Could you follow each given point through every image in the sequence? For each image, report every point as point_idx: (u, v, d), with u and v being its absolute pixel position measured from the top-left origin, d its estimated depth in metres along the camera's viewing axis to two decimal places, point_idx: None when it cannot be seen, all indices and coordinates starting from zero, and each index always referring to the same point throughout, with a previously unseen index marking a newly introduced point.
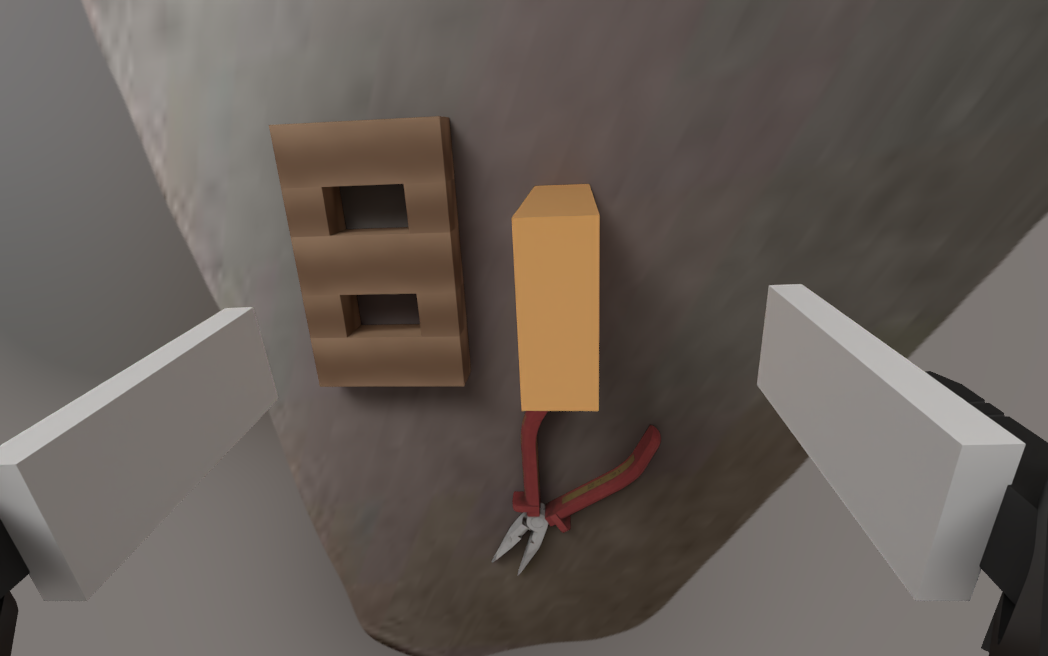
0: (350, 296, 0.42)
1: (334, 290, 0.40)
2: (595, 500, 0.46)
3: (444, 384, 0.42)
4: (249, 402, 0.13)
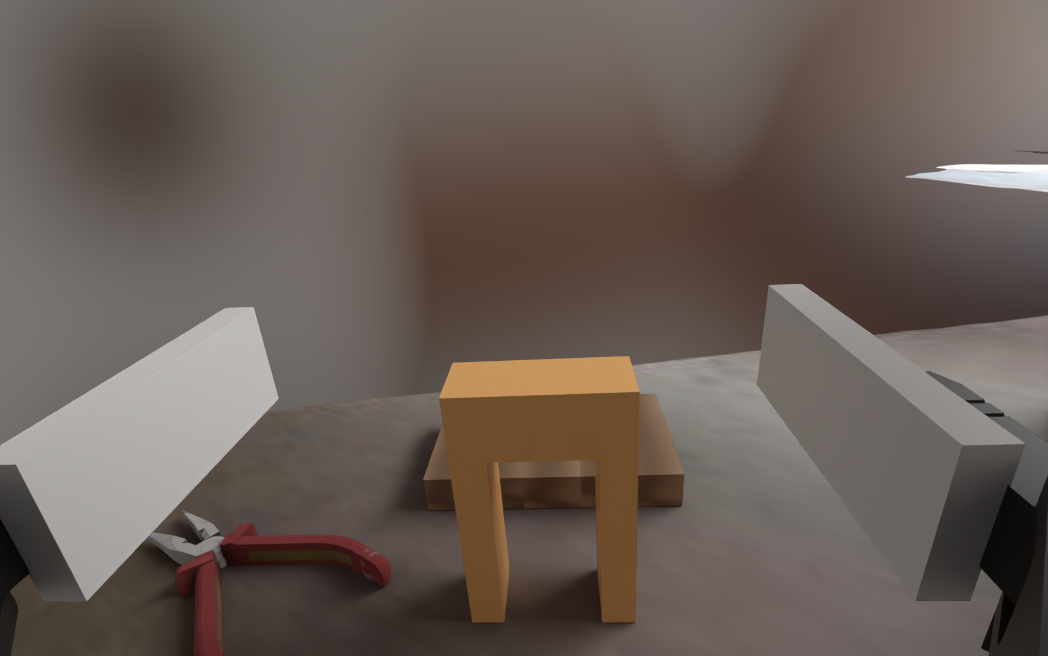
0: None
1: None
2: (200, 605, 0.33)
3: (429, 466, 0.43)
4: (249, 402, 0.13)
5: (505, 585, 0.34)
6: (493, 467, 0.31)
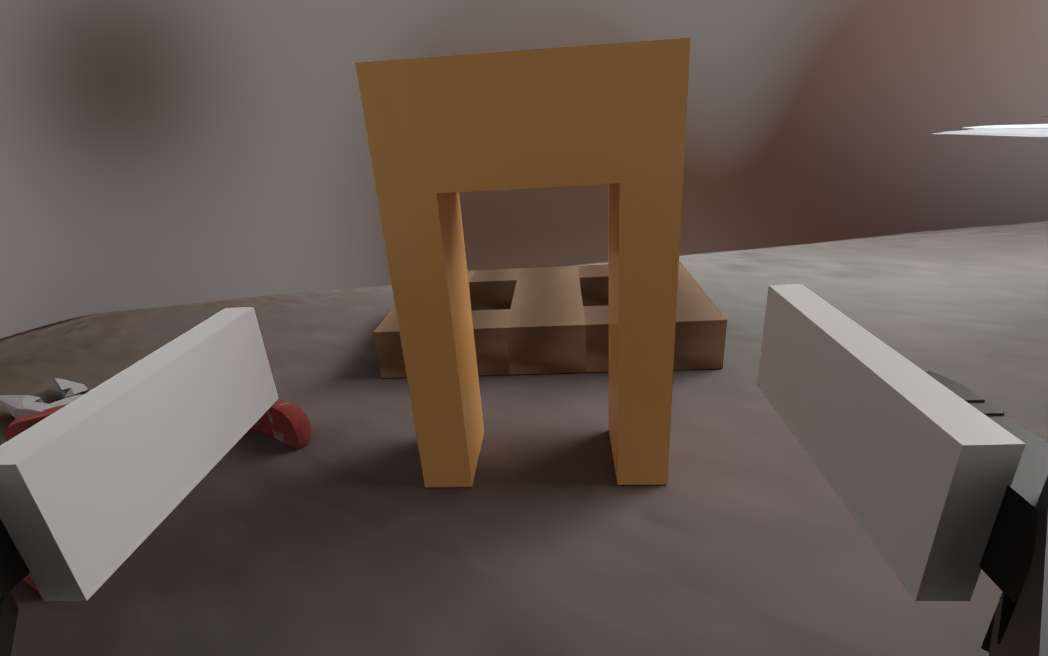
0: (509, 305, 0.39)
1: (522, 278, 0.39)
2: None
3: (384, 321, 0.32)
4: (249, 402, 0.13)
5: (476, 440, 0.23)
6: (454, 237, 0.20)
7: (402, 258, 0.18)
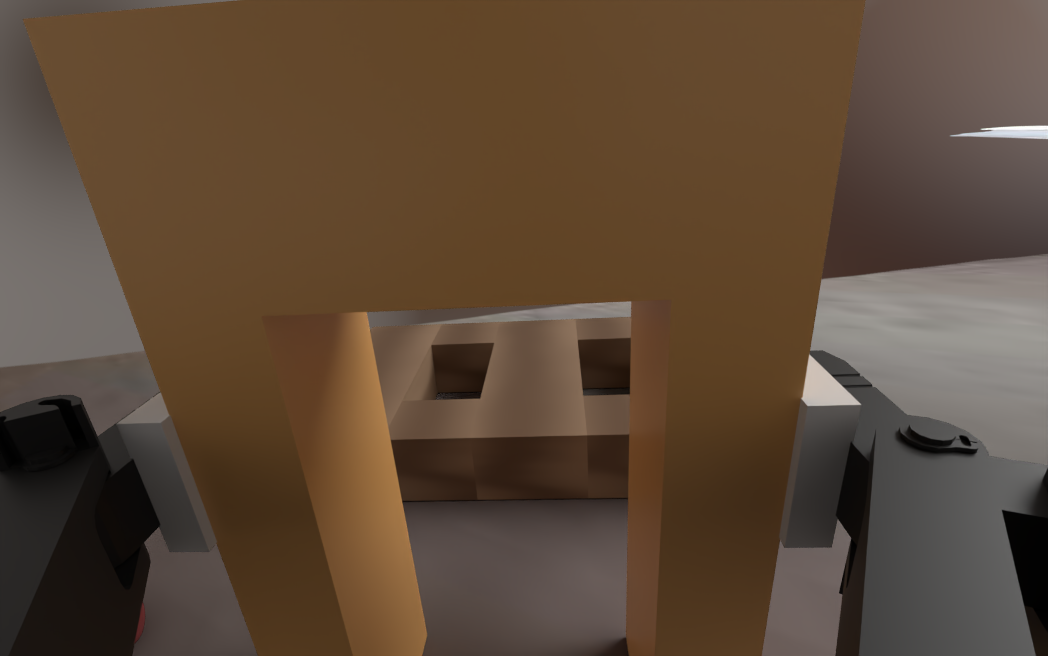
0: (485, 374, 0.30)
1: (501, 339, 0.29)
2: None
3: None
4: None
5: None
6: (341, 368, 0.11)
7: (208, 439, 0.09)
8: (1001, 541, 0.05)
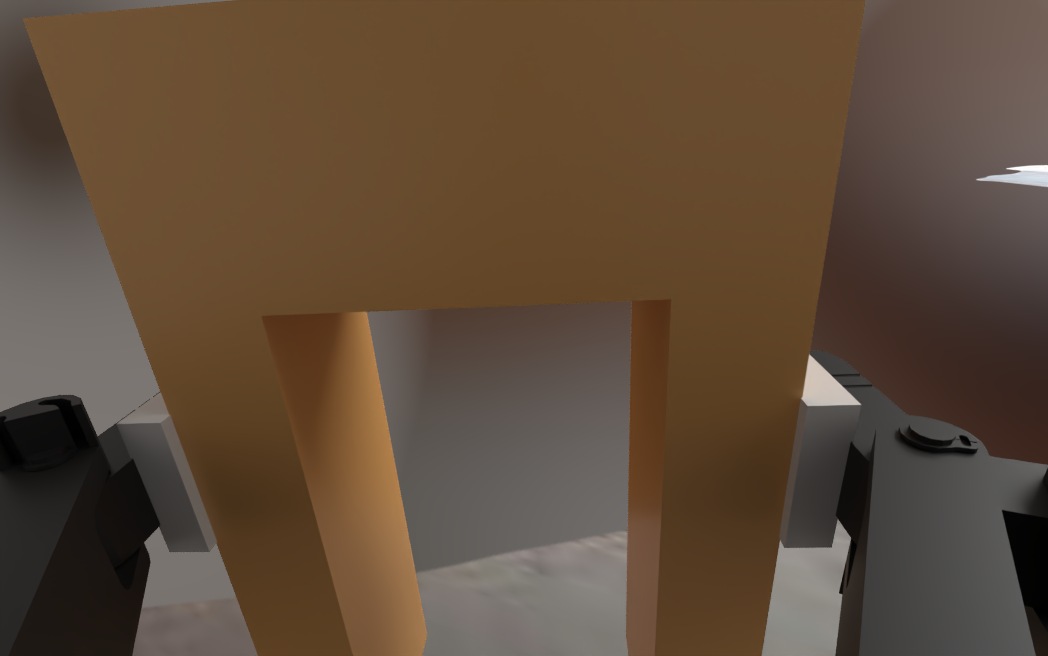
0: None
1: None
2: None
3: None
4: None
5: None
6: (341, 368, 0.11)
7: (208, 439, 0.09)
8: (1001, 541, 0.05)
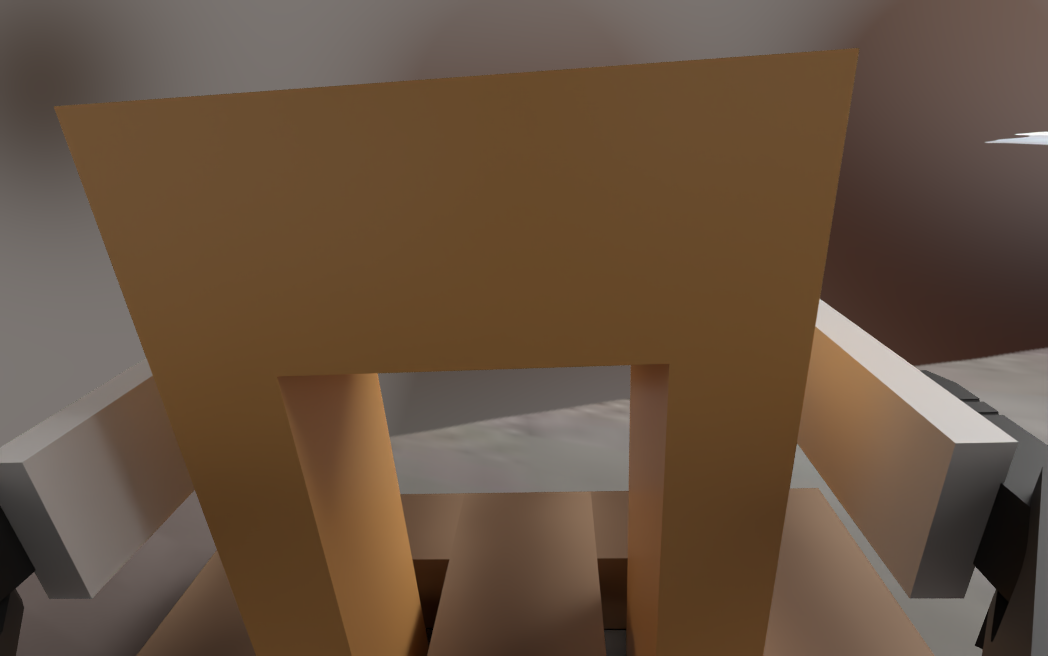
0: (435, 603, 0.17)
1: (462, 550, 0.17)
2: None
3: None
4: None
5: None
6: (350, 412, 0.11)
7: (224, 489, 0.09)
8: None
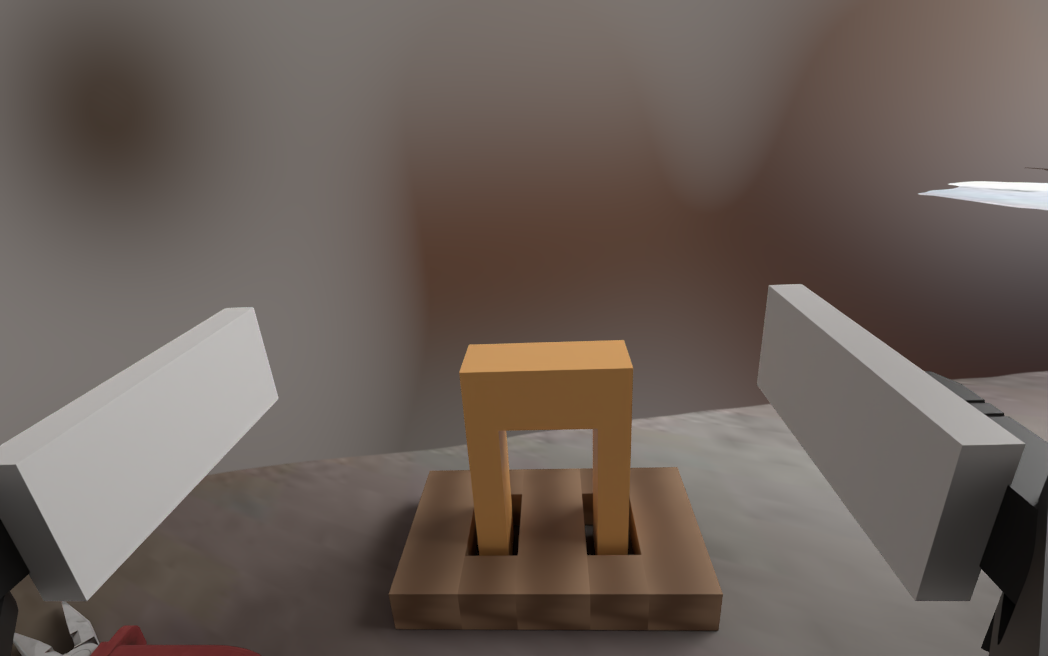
0: (514, 514, 0.41)
1: (527, 491, 0.40)
2: None
3: (398, 572, 0.34)
4: (249, 402, 0.13)
5: (511, 546, 0.38)
6: (503, 437, 0.35)
7: (477, 460, 0.33)
8: None
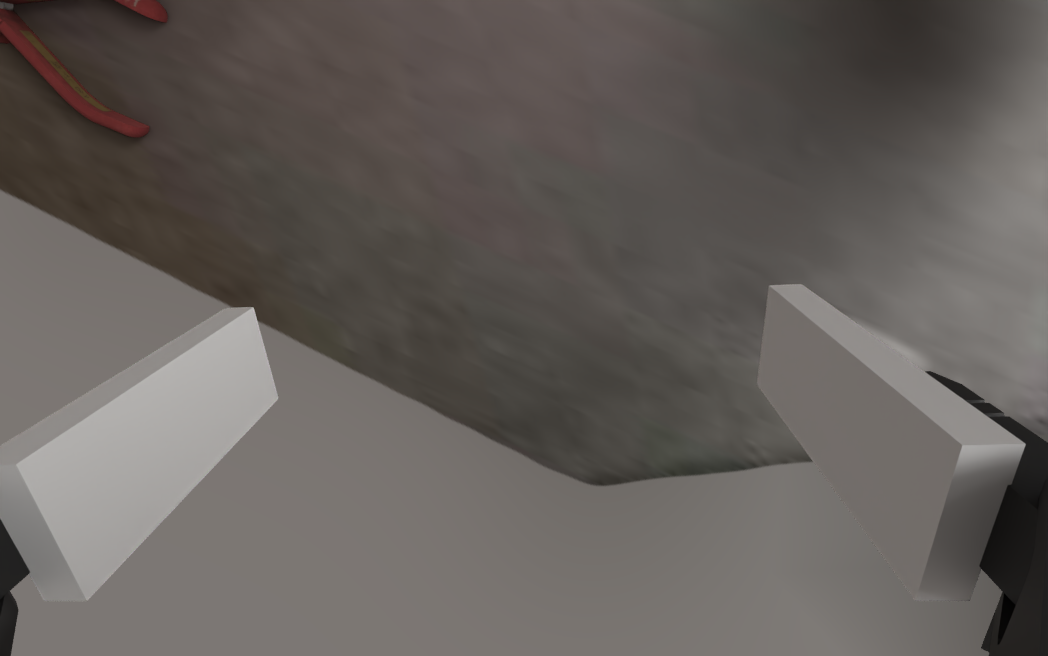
0: None
1: None
2: (38, 69, 0.43)
3: None
4: (249, 402, 0.13)
5: None
6: None
7: None
8: None
